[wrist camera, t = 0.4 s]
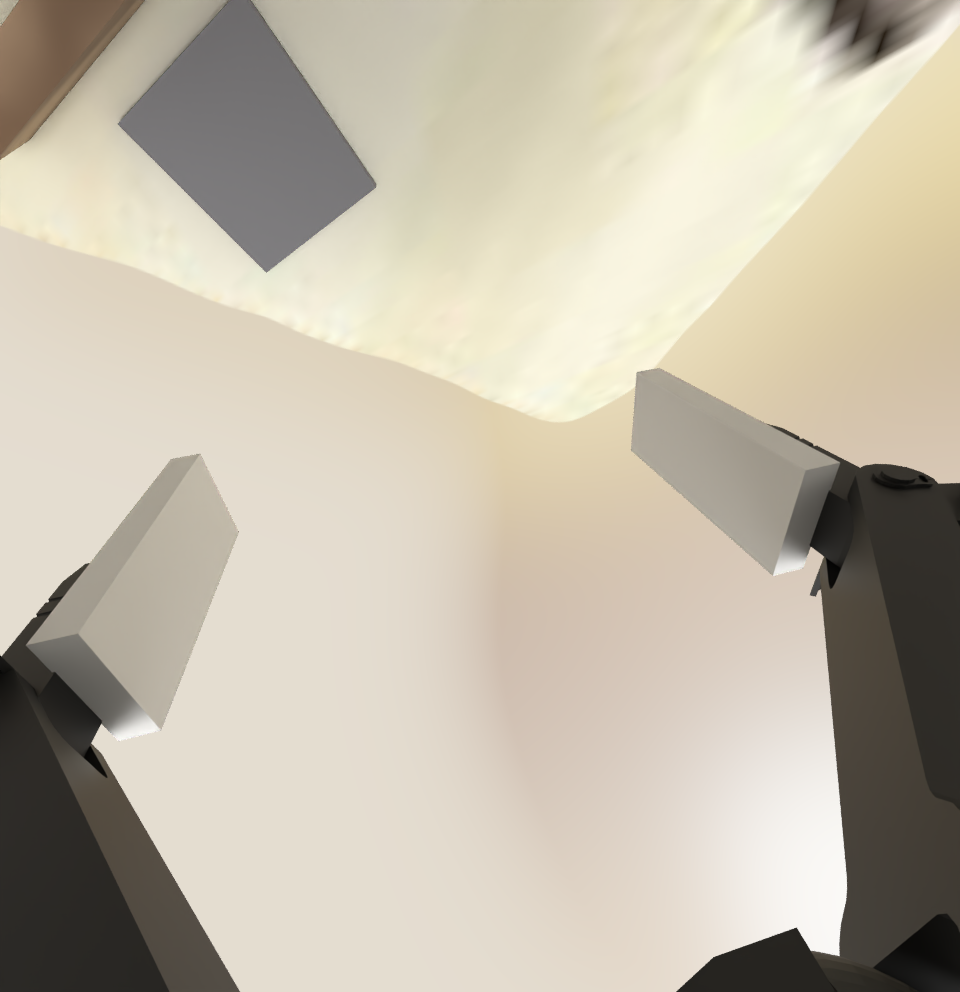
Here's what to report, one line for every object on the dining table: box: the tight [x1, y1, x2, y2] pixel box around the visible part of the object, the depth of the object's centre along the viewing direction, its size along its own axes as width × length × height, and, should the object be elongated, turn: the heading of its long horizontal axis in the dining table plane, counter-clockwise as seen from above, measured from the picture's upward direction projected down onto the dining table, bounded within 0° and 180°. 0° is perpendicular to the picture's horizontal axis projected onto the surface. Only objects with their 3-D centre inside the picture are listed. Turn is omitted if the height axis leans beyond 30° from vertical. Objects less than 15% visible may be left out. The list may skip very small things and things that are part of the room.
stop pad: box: [118, 0, 376, 272], centre depth 31 cm, size 11×11×1 cm
